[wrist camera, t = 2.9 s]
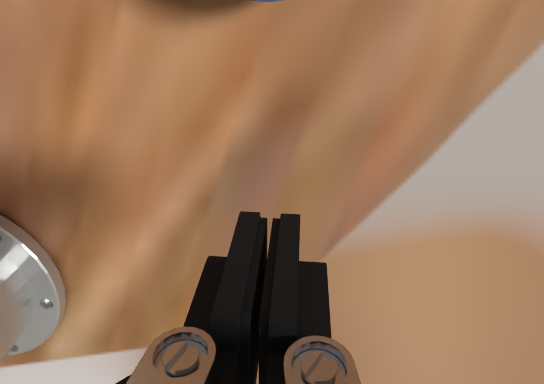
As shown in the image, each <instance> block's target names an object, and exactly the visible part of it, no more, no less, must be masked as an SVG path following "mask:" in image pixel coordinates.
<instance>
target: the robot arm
mask: <svg viewBox="0 0 544 384" xmlns="http://www.w3.org/2000/svg"><path fill="white" fill-rule="evenodd" d="M299 239H300V214H281V217H280V219H278V218H273V222H272V229H271V236H270V243H269V250H268V257H267V218H260V212H242V211H241V212H240V214H239V217H238V221H237V224H236V228H235V231H234V235H233V239H232V242H231V246H230V249H229V253H228V256H227V257H219V256H209V257H208V258H207V260H206V263H205V266H204V269H203V272H202V275H201V277H200V280H199V283H198V286H197V289H196V292H195V295H194V298H193V300H192V303H191V306H190V309H189V312H188V315H187V318H186V321H185V323H184V326H183V327H179V328H174V329H171V330H169V331H166V332H164V333H163V334H161V335H160V336H158V337H157V338H156V339H155V340H154V341H153V342H152V343H151V344H150V346H149V347H148V349H147V350H146V352H145V354H144V355H143V357H142V358H141V360H140V362H139V363H138V365H137V367H136V368H135V370H134V372H133V373H132V374H131V375H130V376H128V377H126V378H124V379H123V380H121V381H119V382H118V383H116V384H256V378H257V370H258V362H259V384H361V382H360V379H359V376H358V373H357V369H356V366H355V362H354V360H353V358H352V356H351V354H350V353H349V351H348V350H347V349H346V348H345V347H344V346H343V345H342V344H340V343H339V342H337V341H335V340H333V339H331V327H330V326H331V325H330V309H329V294H328V278H327V265H326V263H321V262H304V261H299ZM65 304H66V295H65V287H64V284H63V281H62V279H61V276H60V273H59V271H58V269H57V268H56V266H55V264H54V263H53V261H52V259H51V258H50V256H49V255H48V254H47V253H46V252H45V250H44V249H43V248H42V247H41V246H40V245H39V243H38V242H37V241H36V240H34V239H33V238H32V237H31V236H30V235H29V234H28V233H26V232H25V231H24V230H23V229H22V228H20V227H19V226H17V225H16V224H14V223H13V222H11V221H10V220H8V219H7V218H5V217H3V216H1V215H0V363H1V362H2V360H3V359H4V358H5V356H7V355H16V354H20V353H23V352H27V351H30V350H32V349H34V348H36V347H38V346H40V345H41V344H42V343H44V342H45V341H46V340H47V339H48V338H49V337H50V336H51V335H52V333H53V332H54V330H55V329H56V328H57V326H58V325H59V323H60V321H61V319H62V317H63V314H64V312H65Z"/></svg>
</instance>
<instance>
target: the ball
mask: <svg viewBox="0 0 544 384" xmlns="http://www.w3.org/2000/svg"><path fill="white" fill-rule="evenodd" d="M254 1H261V2H274V1H280V0H254Z"/></svg>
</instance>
